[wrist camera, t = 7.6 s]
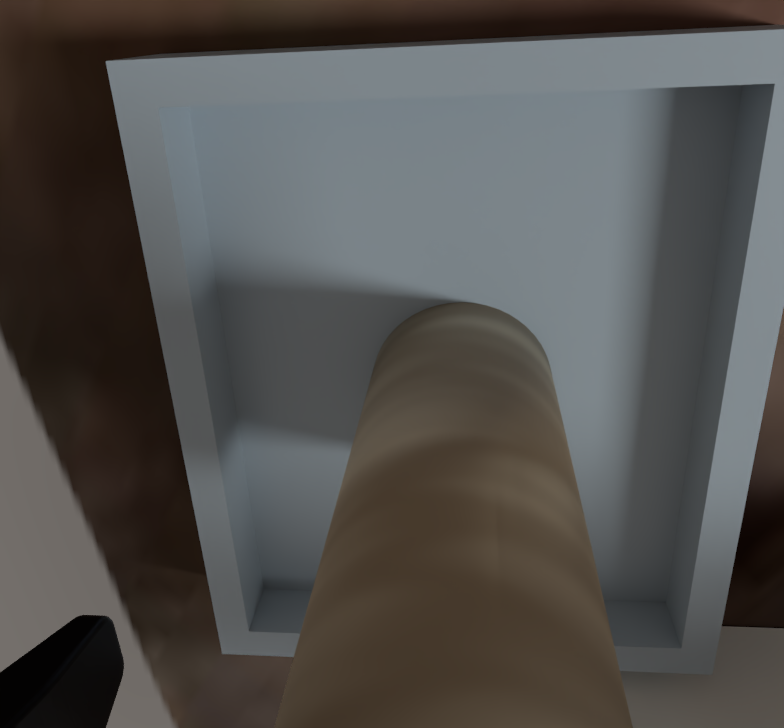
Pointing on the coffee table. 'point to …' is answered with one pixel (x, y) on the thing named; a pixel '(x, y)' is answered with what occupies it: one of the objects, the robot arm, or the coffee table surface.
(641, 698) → the white open box
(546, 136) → the slate tray
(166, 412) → the coffee table surface
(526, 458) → the beech dowel
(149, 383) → the coffee table surface
